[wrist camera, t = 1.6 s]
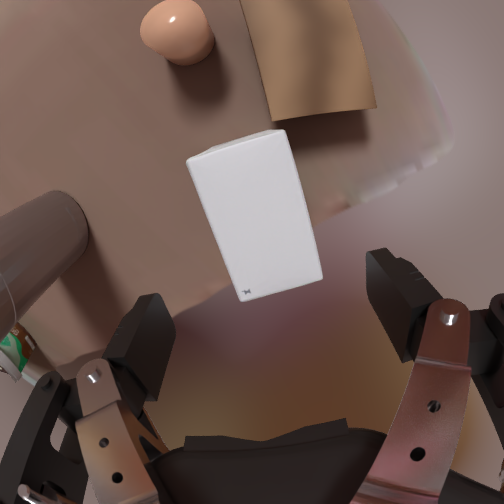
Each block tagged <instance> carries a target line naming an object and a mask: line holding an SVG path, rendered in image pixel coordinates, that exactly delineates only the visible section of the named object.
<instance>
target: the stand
mask: <svg viewBox="0 0 504 504" xmlns="http://www.w3.org/2000/svg"><path fill="white" fill-rule="evenodd" d="M239 1H240V4H241V7H242V11H243V14H244V17H245V21H246V24H247V28H248V31H249V35H250V38H251V42H252V46H253V49H254V53H255V57H256V60H257V64H258V68H259V72H260V76H261V80H262V83H263V87H264V91H265V96H266V100H267V104H268V108H269V112H270V116H271V121H278V120H283V119H289V118H295V117H301V116H308V115H315V114H322V113H330V112H339V111H349V110H360V109H373V108H377V105H376V100H375V95H374V90H373V85H372V81H371V77H370V72H369V68H368V64H367V61H366V57H365V53H364V50H363V46H362V43H361V39H360V36H359V33H358V30H357V26H356V23H355V20H354V17H353V15H352V12H351V9H350V6H349V3H348V1H347V0H239Z"/></svg>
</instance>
